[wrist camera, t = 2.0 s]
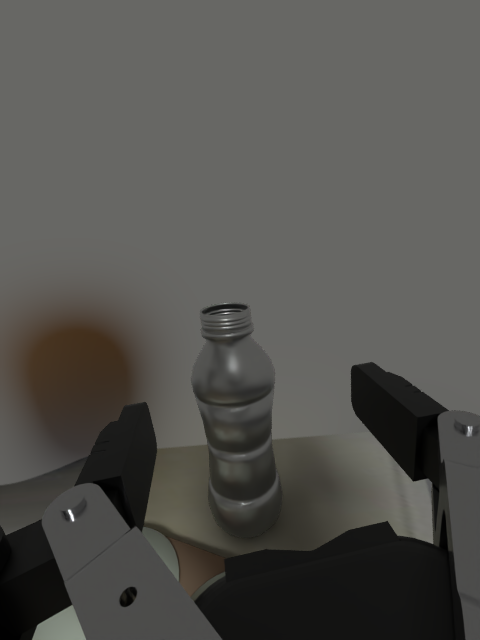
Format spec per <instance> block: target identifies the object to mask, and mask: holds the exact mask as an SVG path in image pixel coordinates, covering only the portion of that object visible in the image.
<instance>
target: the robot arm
mask: <svg viewBox="0 0 480 640" xmlns="http://www.w3.org/2000/svg"><path fill="white" fill-rule="evenodd" d="M351 402H352V406H353V410H354V411H355V414H356V415H357V417H358V418H359V419H360V420H361V421H362V423H363V424H364V425H365V426H366V427H367V428H368V429H369V431H370V432H371V433H372V434H373V435H374V436H375V438H376V439H377V440H378V441H379V442H380V443H381V445H382V446H383V447H384V448H385V449H386V450H387V452H388V453H389V454H390V455H391V456H392V457H393V459H394V460H395V461H396V462H397V463H398V464H399V465H400V467H401V468H402V469H403V470H404V471H405V472H406V474H407V475H408V476H409V477H410V478H411V479H412V481H413V482H414V481H418V480H423V479H427V478H428V479H429V480H430V481H431V482H432V489H431V498H432V524H433V544H431V543H428V542H425V541H422V540H418V539H415V538H410V537H404V536H397V535H396V533H395V532H394V530H393V529H392V527H391V526H390V524H389V523H388V521H386V522H382V523H377V524H373V525H369V526H364V527H360V528H356V529H352V530H348V531H347V532H345V533H343V534H341V535H340V536H338V537H336V538H334V539H333V540H331V541H329V542H328V543H326V544H324V545H322V546H321V547H319V548H317V549H315V550H313V551H292V550H268V549H265V550H261V551H257V552H253V553H248V554H244V555H240V556H235V557H231V558H227V559H224V564H225V576H224V577H222V578H220V579H218V580H217V581H216V582H214V583H213V584H212V585H210V586H209V587H208V588H207V589H206V590H205V591H203V592H202V593H201V594H200V595H199V596H198V598H197V599H196V600H195V601H193V600H192V599H191V597H190V596H189V595H188V593H187V592H186V591H185V589H184V588H183V587H182V585H181V584H180V583H179V581H178V580H177V579H176V577H175V576H174V575H173V573H172V572H171V571H170V569H169V568H168V567H167V566H166V564H165V563H164V562H163V560H162V559H161V558H160V556H159V555H158V554H157V552H156V551H155V550H154V548H153V547H152V546H151V544H150V543H149V542H148V540H147V539H146V538H145V536H144V535H143V534H142V530H143V525H144V520H145V514H146V509H147V503H148V498H149V492H150V487H151V481H152V476H153V471H154V465H155V460H156V454H157V443H156V437H155V432H154V428H153V424H152V420H151V416H150V412H149V408H148V405H147V403H146V402H143V403H137V404H131V405H126V406H124V408H123V410H122V412H121V415H120V417H119V420H118V421H114V422H110V423H109V424H108V425H107V426H106V427H105V428H104V429H103V430H102V431H101V432H100V434H99V436H98V438H97V440H96V442H95V445H94V446H93V449H92V451H91V455H89V457H88V459H87V461H86V463H85V465H84V467H83V469H82V471H81V473H80V475H79V478H78V480H77V482H76V484H75V486H74V487H72V488H70V489H68V490H67V491H65V492H63V493H62V494H60V495H59V496H58V497H57V498H56V499H55V500H53V501H52V502H51V504H50V505H49V506H48V507H47V509H46V510H45V512H44V514H43V517H42V519H41V520H39V521H37V522H35V523H33V524H31V525H28V526H26V527H24V528H22V529H19V530H17V531H15V532H13V533H10V534H8V535H5V533H4V531H3V529H2V527H1V526H0V640H32V639H33V636H34V633H35V630H36V628H37V625H38V624H40V623H42V622H43V621H45V620H47V619H49V618H50V617H52V616H54V615H56V614H57V613H59V612H61V611H63V610H64V609H66V608H68V607H70V606H71V605H73V607H74V610H75V612H76V615H77V617H78V620H79V623H80V625H81V628H82V630H83V633H84V635H85V638H86V640H480V416H479V415H476V414H473V413H470V412H465V411H455V410H454V411H449V410H447V409H446V408H444V407H443V406H442V405H440V404H439V403H438V402H436V401H435V400H433V399H432V398H431V397H429V396H428V395H426V394H425V393H424V392H421V391H420V390H419V389H418V388H417V387H415V386H412V384H411V383H410V382H408V381H407V380H405V379H404V378H403V377H400V376H398V375H395V374H392V373H390V372H385V371H384V370H383V369H381V368H380V367H379V366H377V365H376V364H375V363H373V362H370V363H364V364H359V365H354V366H352V369H351Z"/></svg>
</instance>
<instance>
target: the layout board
mask: <svg viewBox="0 0 480 640" xmlns="http://www.w3.org/2000/svg"><path fill="white" fill-rule="evenodd" d="M142 534H143V535H144V536H145V538H146V539H147V540H148V542H149V543H150V544H151V546H152V547H153V548H154V550H155V551H156V552H157V554H158V555H159V556H160V558H161V559H162V560H163V562H164V563H165V564H166V566H167V567H168V568H169V569H170V571H171V572H172V573H173V575H174V576H175V577H176V579H177V580H178V581H179V583H180V584H181V585H182V587H183V588H184V589H185V591H186V592H187V593H188V595H189V596H190V597H191V599H192V600H193V601H195V600H196V599H197V598H198V596H199V595H200V594H201V593H202V592H203V591H205V590H206V589H207V588H208V587H209V586H210V585H212V584H213V583H214V582H216V581H217V580H218V579H220V578H222V577H224V576H225V564H224V559H227V558H224V557H221V556H219V555H216V554H213V553H210V552H208V551H205V550H202V549H200V548H197V547H194V546H191V545H189V544H186V543H183V542H181V541H178V540H175V539H173V538H170V537H167V536H164V535H163V534H161V533H160V532H158V531H156V530H154V529H151V528H147V527H143V530H142ZM32 640H86V638H85V635H84V633H83V630H82V628H81V625H80V623H79V620H78V617H77V615H76V612H75V610H74V607H73V605H71V606H70V607H68V608H66V609H64V610H63V611H61V612H59V613H57V614H56V615H54V616H52V617H50V618H49V619H47V620H45V621H43V622H42V623H40V624H38V625H37V628H36V630H35V633H34V636H33V639H32Z"/></svg>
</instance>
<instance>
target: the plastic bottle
mask: <svg viewBox="0 0 480 640" xmlns="http://www.w3.org/2000/svg"><path fill="white" fill-rule="evenodd" d="M200 319H201V325H202V328H201V334H202V337H203V338H205V339H206V343H205V345H204V346H203V348H202V350H201V351H200V353H199V355H198V357H197V359H196V362H195V364H194V366H193V370H192V376H191V383H192V387H193V392H194V394H195V398H196V401H197V404H198V407H199V410H200V413H201V417H202V419H203V424H204V428H205V433H206V437H207V443H208V448H209V467H210V478H209V485H208V500H209V506H210V509H211V511H212V514H213V517H214V519H215V521H216V523H217V524H218V526H220V527H221V528H222V529H223V530H224V531H226V532H227V533H229V534H231V535H234V536H236V537H241V538H251V537H255V536H258V535H260V534H262V533H264V532H265V531H267V530H268V529H269V528H270V527H271V526H272V525H273V524H274V523H275V521H276V520H277V518H278V516H279V513H280V509H281V503H282V495H283V494H282V487H281V483H280V478H279V475H278V472H277V469H276V466H275V460H274V453H273V447H272V435H271V434H272V433H271V429H272V422H271V421H272V404H273V395H274V384H275V370H274V367H273V364H272V362H271V359H270V358H269V356H268V355H267V354H266V353H265V351H264V350H263V349H262V347H261V346H260V345H259V344H258V343H257V342H256V341H255V340H254V339H253V338H252V337H251V335H250V334H251V333H252V332H253V331H254V328H253V323H252V322H251V312H250V308H249V305H247V304H244V303H222V304H215V305H211V306H208V307H205V308H203V309H202V310H201V311H200Z"/></svg>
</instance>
